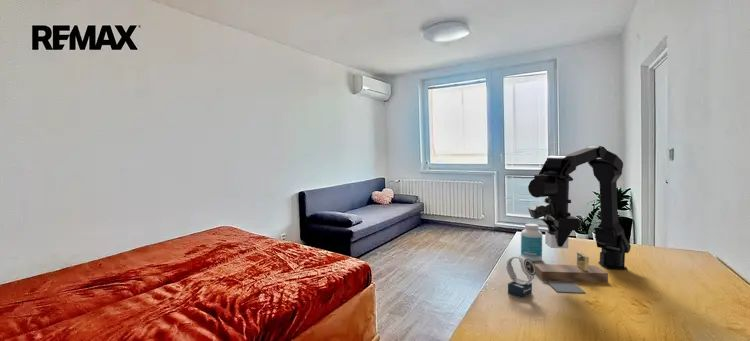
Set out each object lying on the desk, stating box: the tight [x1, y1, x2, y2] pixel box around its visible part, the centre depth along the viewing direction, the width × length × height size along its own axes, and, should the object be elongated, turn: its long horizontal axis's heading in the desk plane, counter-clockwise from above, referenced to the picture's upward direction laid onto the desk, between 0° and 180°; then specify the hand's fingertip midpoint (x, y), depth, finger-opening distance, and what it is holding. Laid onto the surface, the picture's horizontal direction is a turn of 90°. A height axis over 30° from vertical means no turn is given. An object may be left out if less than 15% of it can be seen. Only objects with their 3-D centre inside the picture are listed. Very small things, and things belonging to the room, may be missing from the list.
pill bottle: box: [520, 223, 543, 263], centre depth 129 cm, size 8×7×14 cm
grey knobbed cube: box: [544, 231, 570, 249], centre depth 106 cm, size 5×5×5 cm
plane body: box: [533, 263, 609, 283], centre depth 111 cm, size 20×7×3 cm, turn 84°
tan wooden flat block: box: [576, 251, 590, 271], centre depth 110 cm, size 2×5×5 cm, turn 174°
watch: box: [505, 255, 536, 299], centre depth 99 cm, size 6×8×11 cm
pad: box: [545, 281, 586, 294], centre depth 103 cm, size 8×8×1 cm
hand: (556, 244), depth 106 cm, fingers closed on grey knobbed cube, 5 cm apart
